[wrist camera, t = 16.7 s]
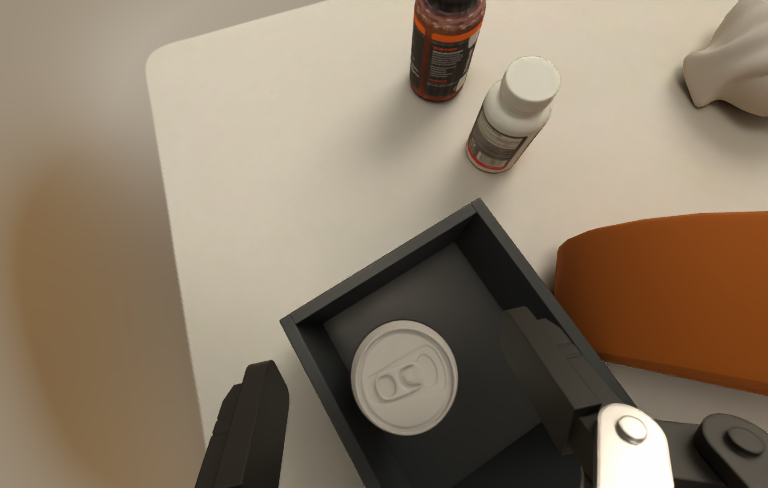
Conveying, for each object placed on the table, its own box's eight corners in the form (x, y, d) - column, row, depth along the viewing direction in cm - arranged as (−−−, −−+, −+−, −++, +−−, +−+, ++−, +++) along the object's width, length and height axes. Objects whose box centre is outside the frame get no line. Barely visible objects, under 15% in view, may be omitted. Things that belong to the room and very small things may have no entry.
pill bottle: (497, 118, 33) (540, 36, 24) (529, 157, 32) (587, 87, 22) (454, 142, 32) (481, 68, 23) (485, 183, 31) (527, 123, 22)
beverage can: (442, 375, 26) (484, 419, 15) (378, 400, 26) (369, 465, 14) (417, 310, 28) (438, 302, 16) (356, 333, 27) (331, 342, 16)
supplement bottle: (474, 91, 34) (513, -20, 23) (424, 112, 33) (441, 9, 22) (447, 50, 35) (472, -73, 24) (399, 70, 35) (403, -46, 24)
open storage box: (419, 517, 25) (435, 622, 16) (312, 321, 28) (278, 320, 20) (575, 403, 26) (664, 442, 18) (454, 232, 30) (479, 196, 22)
